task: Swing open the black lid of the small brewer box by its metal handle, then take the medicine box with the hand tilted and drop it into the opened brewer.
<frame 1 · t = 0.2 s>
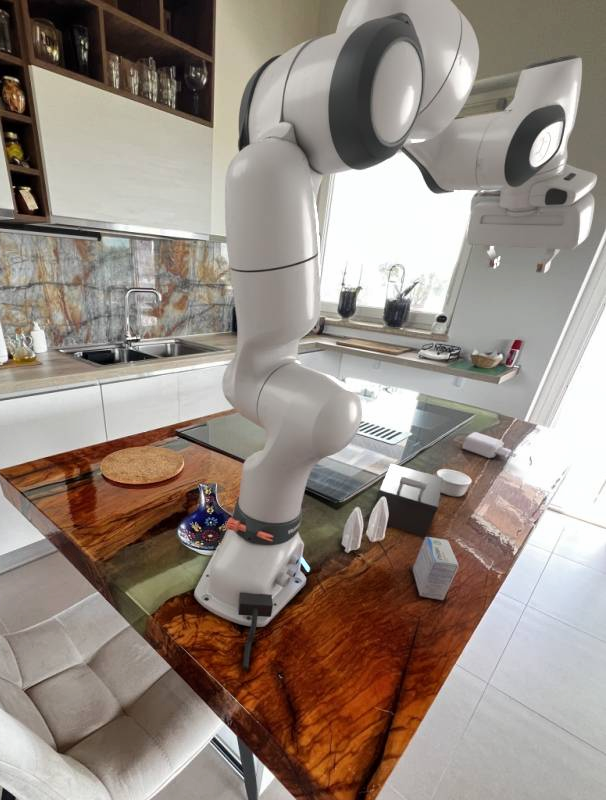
hand: (516, 269, 81), 54 cm above the kitchen island, tool tilted 30°, fingers open, 8 cm apart
medicine box: (426, 585, 80), on the kitchen island
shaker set: (362, 542, 91), on the kitchen island
ramekin: (448, 490, 115), on the kitchen island
white bottle: (488, 454, 140), on the kitchen island
brew lid: (414, 477, 97), point 10 cm above the kitchen island, hinge at 0.0°
brewer: (401, 513, 103), on the kitchen island
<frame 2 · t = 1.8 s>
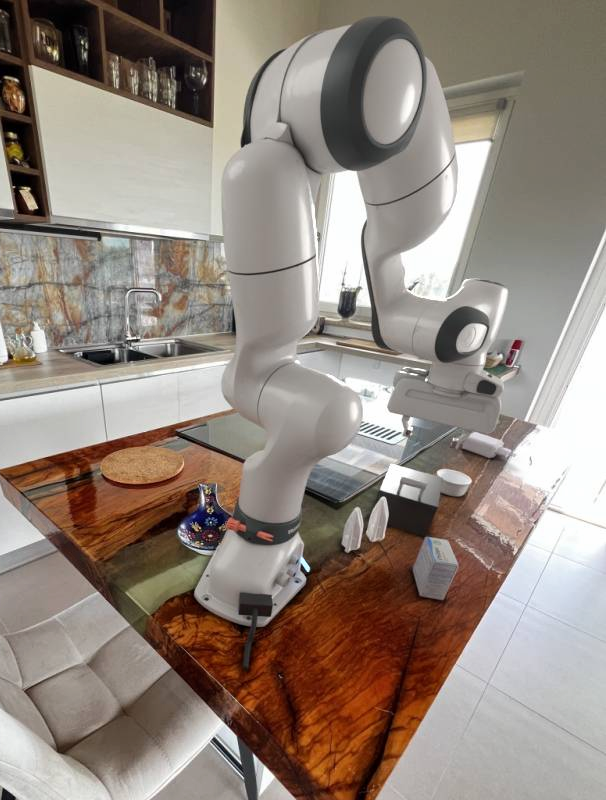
hand: (429, 441, 86), 21 cm above the kitchen island, tool pointing down, fingers open, 8 cm apart
nothing on the kitchen island moved.
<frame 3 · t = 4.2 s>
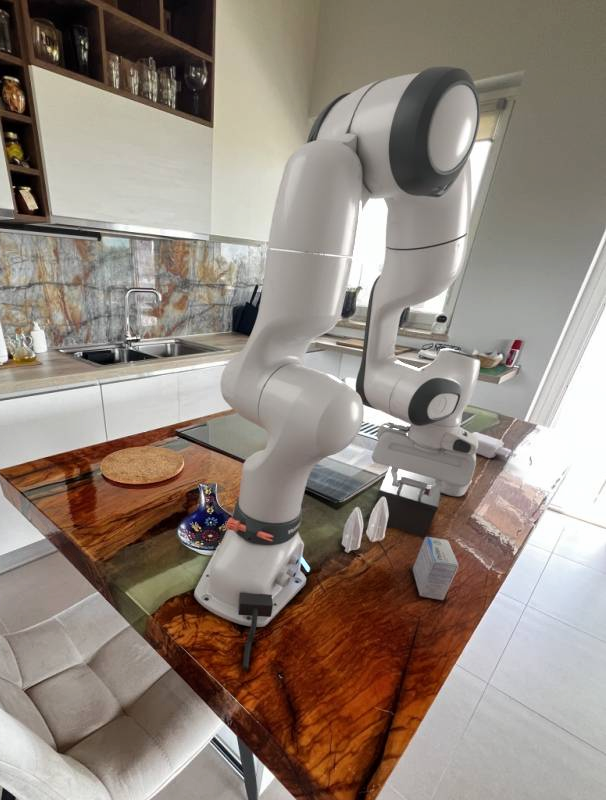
hand: (411, 489, 92), 10 cm above the kitchen island, tool pointing down, fingers closed on brew lid, 5 cm apart
brew lid: (414, 477, 97), point 10 cm above the kitchen island, hinge at 0.0°, touching gripper
everything else where it was.
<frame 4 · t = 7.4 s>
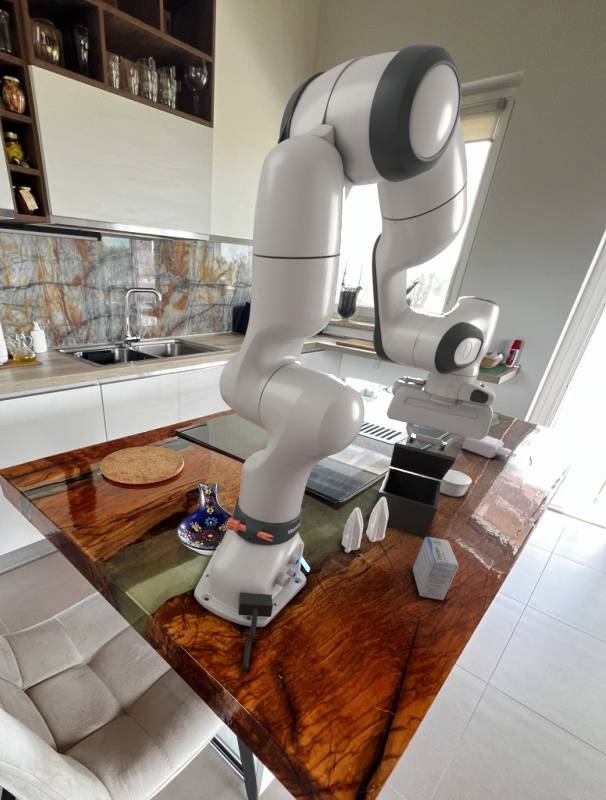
hand: (425, 446, 92), 18 cm above the kitchen island, tool pointing down, fingers closed on brew lid, 5 cm apart
brew lid: (422, 455, 97), point 15 cm above the kitchen island, hinge at 39.4°, touching gripper
everything else where it was.
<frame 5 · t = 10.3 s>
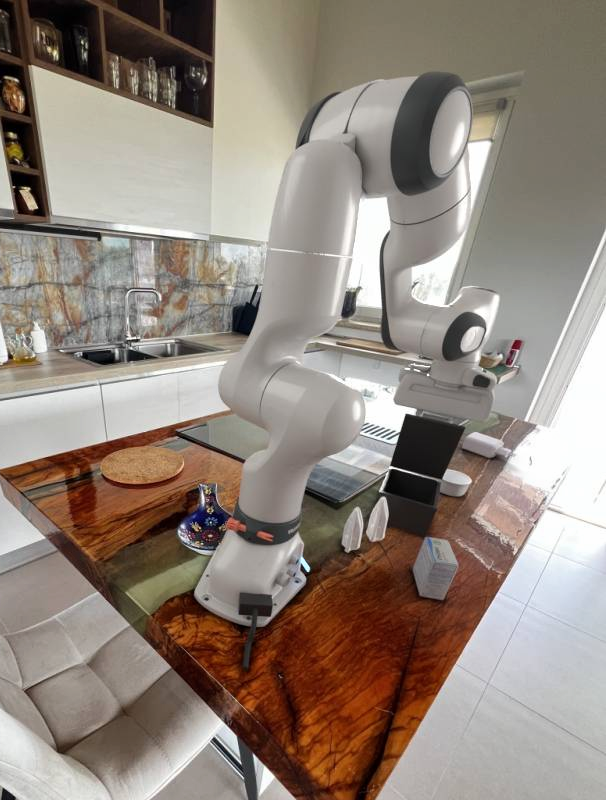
hand: (431, 430, 97), 20 cm above the kitchen island, tool pointing down, fingers open, 4 cm apart
brew lid: (426, 442, 99), point 17 cm above the kitchen island, hinge at 69.3°
everything else where it was.
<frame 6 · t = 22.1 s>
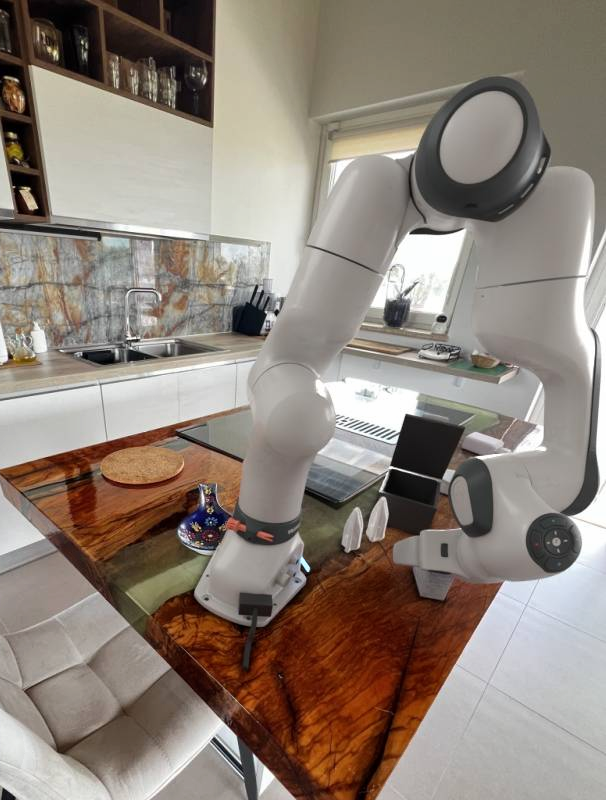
hand: (434, 562, 78), 5 cm above the kitchen island, tool tilted 45°, fingers closed on medicine box, 5 cm apart
medicine box: (426, 585, 80), on the kitchen island, touching gripper
everything else where it was.
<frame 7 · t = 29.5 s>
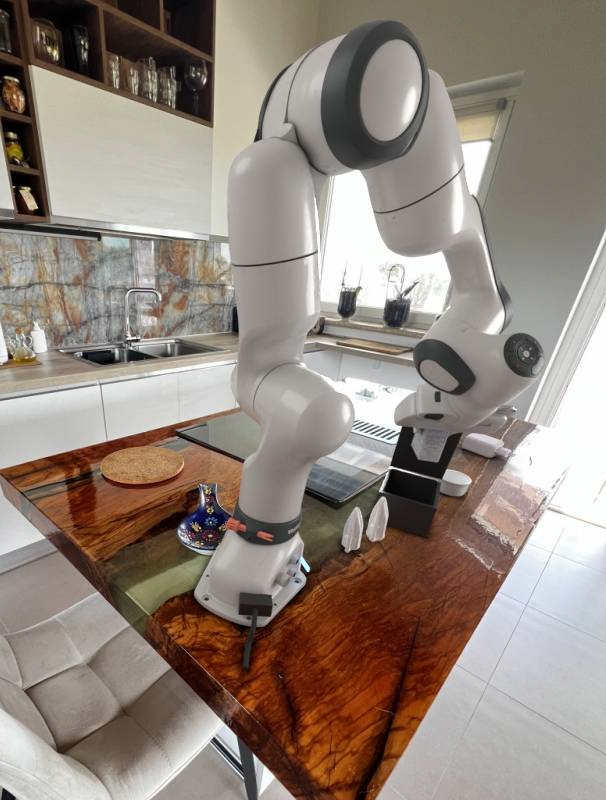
hand: (430, 431, 90), 22 cm above the kitchen island, tool tilted 45°, fingers closed on medicine box, 5 cm apart
medicine box: (423, 454, 92), point 17 cm above the kitchen island, touching brew lid, gripper
brew lid: (426, 442, 99), point 17 cm above the kitchen island, hinge at 71.8°, touching medicine box
everything else where it was.
when the fingers open (9 cm above the kitchen island, at t = 33.4 s): medicine box drops 4 cm, resting on brewer.
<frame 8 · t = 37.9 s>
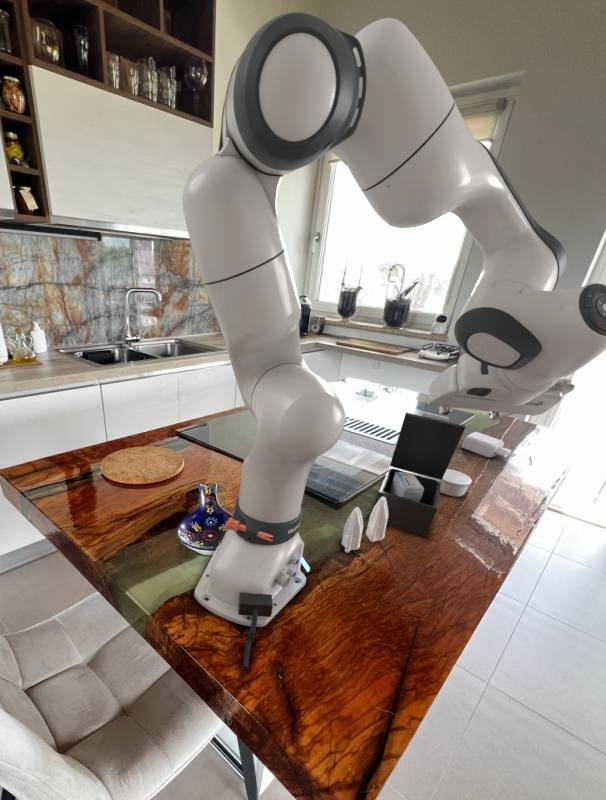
hand: (467, 413, 79), 29 cm above the kitchen island, tool tilted 45°, fingers open, 8 cm apart
medicine box: (398, 510, 102), point 1 cm above the kitchen island, touching brewer
brew lid: (426, 442, 99), point 17 cm above the kitchen island, hinge at 70.5°
everything else where it was.
at the end: brew lid at +70° (first picture: +0°); medicine box inside the target area in the brewer (0.9 cm from its centre), point 0.6 cm above the brewer's base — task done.
